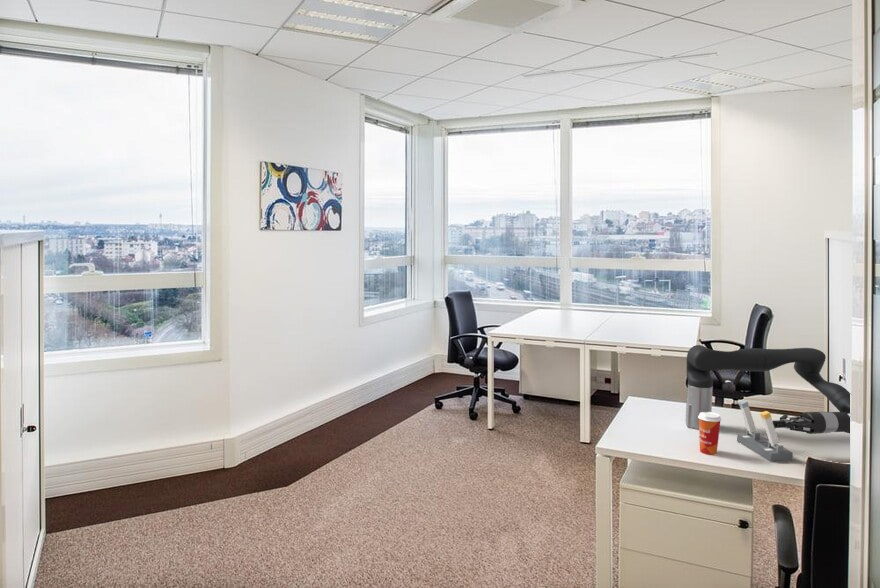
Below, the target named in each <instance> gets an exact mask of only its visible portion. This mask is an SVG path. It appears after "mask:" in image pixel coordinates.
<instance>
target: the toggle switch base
mask: <svg viewBox="0 0 880 588" xmlns="http://www.w3.org/2000/svg"><path fill="white" fill-rule="evenodd" d="M737 441H738V444H740V443H741V444H740V445H742V446H744V447H745V446H746V447H745V448H747V449H749V450H750V451H751V452H754V453H755V454H757V455H758V456H760V457H762V458H763V459H764V460H766V461H768V462H770V463H775V462H777V463H778V462H793V459H794V458H793V456H794V452H793V451H791V450H788V449H787V448H785V447H784V445H780V444H779V443H777V444H775V445H777V449H775V448H774V447H772V446H771V444H770V442H769V439H768V437H766V436H764V435H761V433H760V432H754V436H753V435H751V434H749V431H748V430H747V428H746V433H745V432H744V433H737V434H736V442H737Z"/></svg>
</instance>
